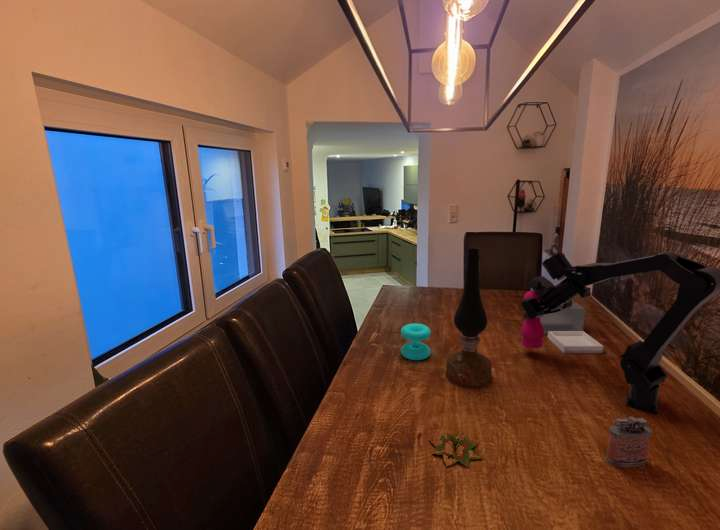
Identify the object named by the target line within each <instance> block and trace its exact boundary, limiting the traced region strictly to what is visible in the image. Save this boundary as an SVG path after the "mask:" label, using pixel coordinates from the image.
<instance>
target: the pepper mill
mask: <svg viewBox="0 0 720 530" xmlns="http://www.w3.org/2000/svg"><path fill="white" fill-rule="evenodd" d="M539 294H540V293H538V292H537V291H536V290H533V289H532V288H530V290H529V291H527V292H526V293H524V296H523V300H524V299H527V298H531V297H533V298H536V300H537V301H538V300H541V298H540V297H539V296H538V295H539ZM538 303H539V302H538ZM524 319H525V318H524ZM520 335H521V336H522V339H521V345H522V346H524V347H525V348H529V349H540V348H543V345H544V344H543V343H544V341H543V338H544V337H545V335H546V334H545V331H544V328H543V325H542V323H541V321H540V317H539V318H535V319H531V318H529V319H525V320H524V322H523V324H522V325H521V328H520Z"/></svg>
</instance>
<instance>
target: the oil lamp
mask: <svg viewBox="0 0 720 530" xmlns="http://www.w3.org/2000/svg"><path fill="white" fill-rule="evenodd" d="M479 251H480V249H479V248H468V249H467V252H466V253H467V254H466V266H465V279H464V286H463V293H462V296H461V299H460V302H459V305H458V307H457V309H456V310H455V314H454V318H453V322H454V326H455V327H456V330H458V331H459V332H460V333H461V335H460V336H459V341H460V344H461V350H457V351H454V352H452V353H450V354H448V356H447V358H446V367H445V369H446V370H445V372H444V374H445V377H446V379H447V380H448V381H450V382H451V383H452V384H455V385H457V386H458V387H462V386H463V388H467V387H468V389H478V388H480V389H481V388H483V387H484V388H485V387H486V386H489V385H490V384H491V382H492V381H493V375H492V371H493V370H492V369H493V366H492V365H493V363H492V361H491V359H490V358H489V357H487V356H486V355H485V354H482V353H480V352H479V351H478V346H479V344H480V342H481V338H480V337H479V336H478V335H479V334H481V333H482V332H484V331H485V329H486V327H487V325H488V317H487V313H486V310H485V307H484V303H483V300H482V297H481V292H480V290H481V289H480V255H479V254H480V252H479Z"/></svg>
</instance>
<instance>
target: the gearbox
mask: <svg viewBox="0 0 720 530" xmlns="http://www.w3.org/2000/svg"><path fill="white" fill-rule="evenodd" d="M563 307H564V305H562V307H561V308H560V309H561V311H559V312H555V313H549V314H544V315H543V316H542V317H540V321H541V323H542V325H543V328H544V331H545V335H548V331H584V325H585V324H584V323H585V315H586V307H584V306H582V305H581V304H579V303H578V302H576V301H574V300H573V299H572V306H571V307H569V308H568V309H565V310H563V309H562V308H563Z"/></svg>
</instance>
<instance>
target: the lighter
mask: <svg viewBox="0 0 720 530" xmlns="http://www.w3.org/2000/svg"><path fill="white" fill-rule="evenodd" d="M647 422H648V421H647V419H645V418H643V417H639V418H637V417H636V418H635V417H634V416H632V415H630V416H629V417H627V418H616V419H615V420H614V425H611V426H609V430H608V432H609V438H608V444H607V453H606V454H605V461H606V462H607V463H608V464H610V465H611V466H613V467H623V468H627V467H628V468H631V467H639V466H640V467H641V466H644V465H646V464H647V462H648V458H647V456H648V455H647V454H648V448H649V443H650V437H651V436H652V433H653V432H652V429H650V427H649V426H647V424H648V423H647Z"/></svg>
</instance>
